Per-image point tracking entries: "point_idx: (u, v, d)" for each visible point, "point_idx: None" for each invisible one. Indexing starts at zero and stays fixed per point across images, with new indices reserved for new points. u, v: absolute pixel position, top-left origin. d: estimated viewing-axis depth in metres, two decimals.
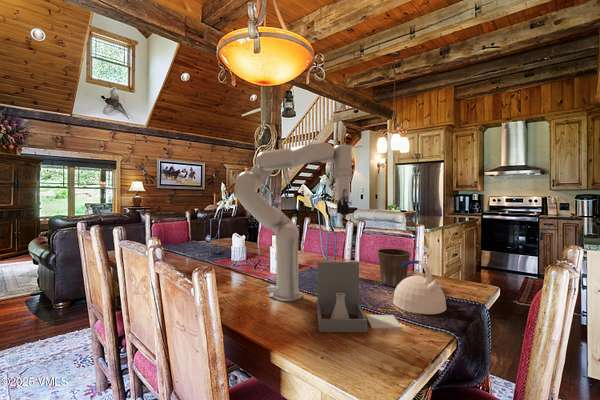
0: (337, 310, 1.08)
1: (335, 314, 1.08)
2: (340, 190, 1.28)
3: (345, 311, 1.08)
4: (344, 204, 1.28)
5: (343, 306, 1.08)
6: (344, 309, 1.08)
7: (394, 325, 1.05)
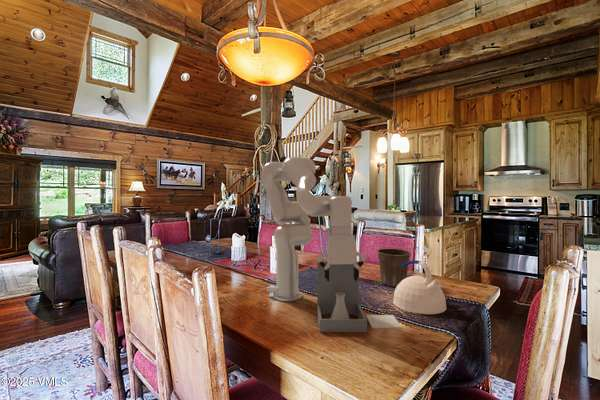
0: (337, 310, 1.08)
1: (335, 314, 1.08)
2: (356, 252, 1.07)
3: (345, 311, 1.08)
4: None
5: (343, 306, 1.08)
6: (344, 309, 1.08)
7: (394, 325, 1.05)
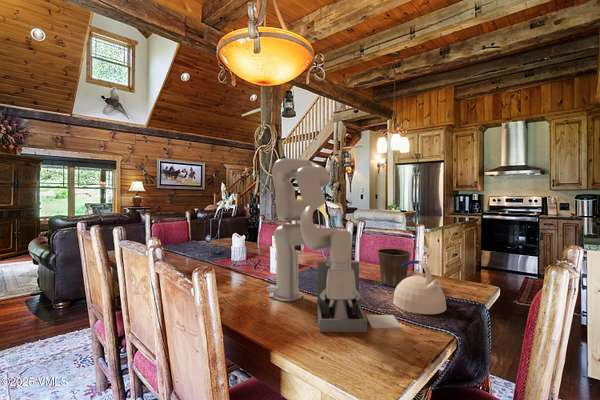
0: (337, 310, 1.08)
1: (335, 314, 1.08)
2: (355, 287, 1.07)
3: (345, 311, 1.08)
4: None
5: (343, 306, 1.08)
6: (344, 309, 1.08)
7: (394, 325, 1.05)
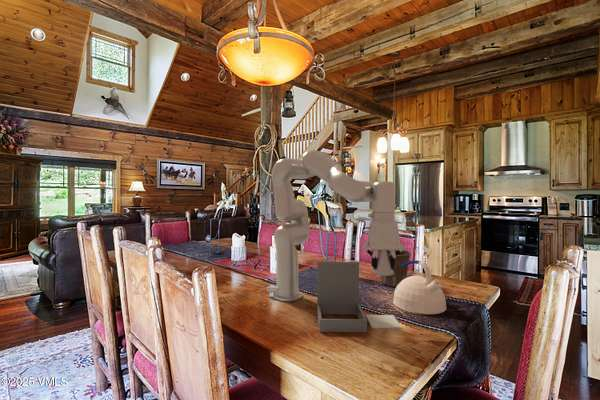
0: (380, 260, 1.07)
1: (378, 265, 1.07)
2: None
3: (388, 262, 1.07)
4: None
5: (386, 257, 1.07)
6: (387, 260, 1.07)
7: (394, 325, 1.05)
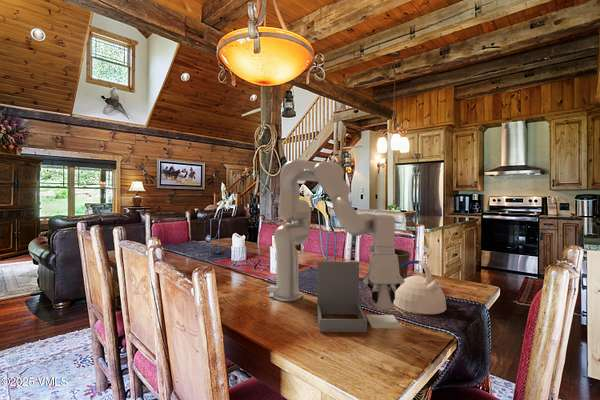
0: (381, 294, 1.07)
1: (379, 298, 1.08)
2: None
3: (389, 295, 1.08)
4: None
5: (387, 290, 1.08)
6: (387, 294, 1.08)
7: (394, 325, 1.05)
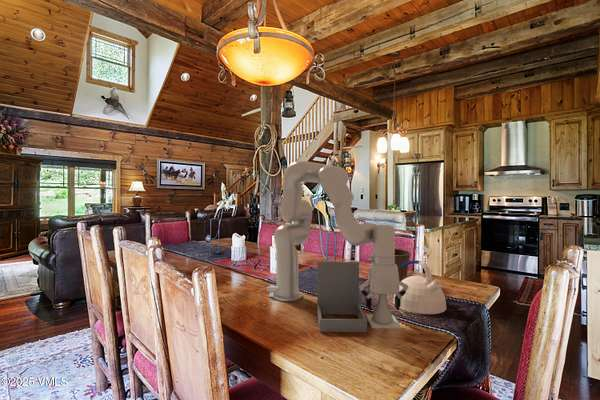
0: (380, 308, 1.08)
1: (378, 312, 1.08)
2: (399, 281, 1.07)
3: (388, 309, 1.08)
4: None
5: (386, 304, 1.08)
6: (386, 308, 1.08)
7: (394, 325, 1.05)
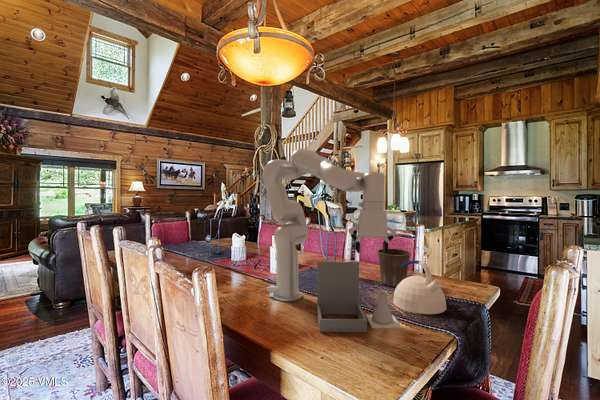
0: (380, 308, 1.08)
1: (378, 312, 1.08)
2: (387, 226, 1.11)
3: (388, 309, 1.08)
4: None
5: (386, 304, 1.08)
6: (386, 308, 1.08)
7: (394, 325, 1.05)
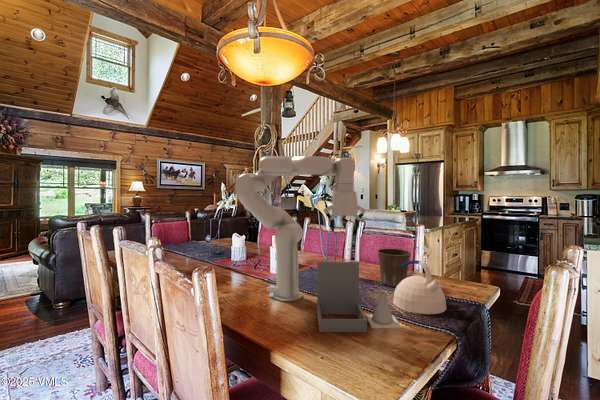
0: (380, 308, 1.08)
1: (378, 312, 1.08)
2: (357, 205, 1.26)
3: (388, 309, 1.08)
4: None
5: (386, 304, 1.08)
6: (386, 308, 1.08)
7: (394, 325, 1.05)
